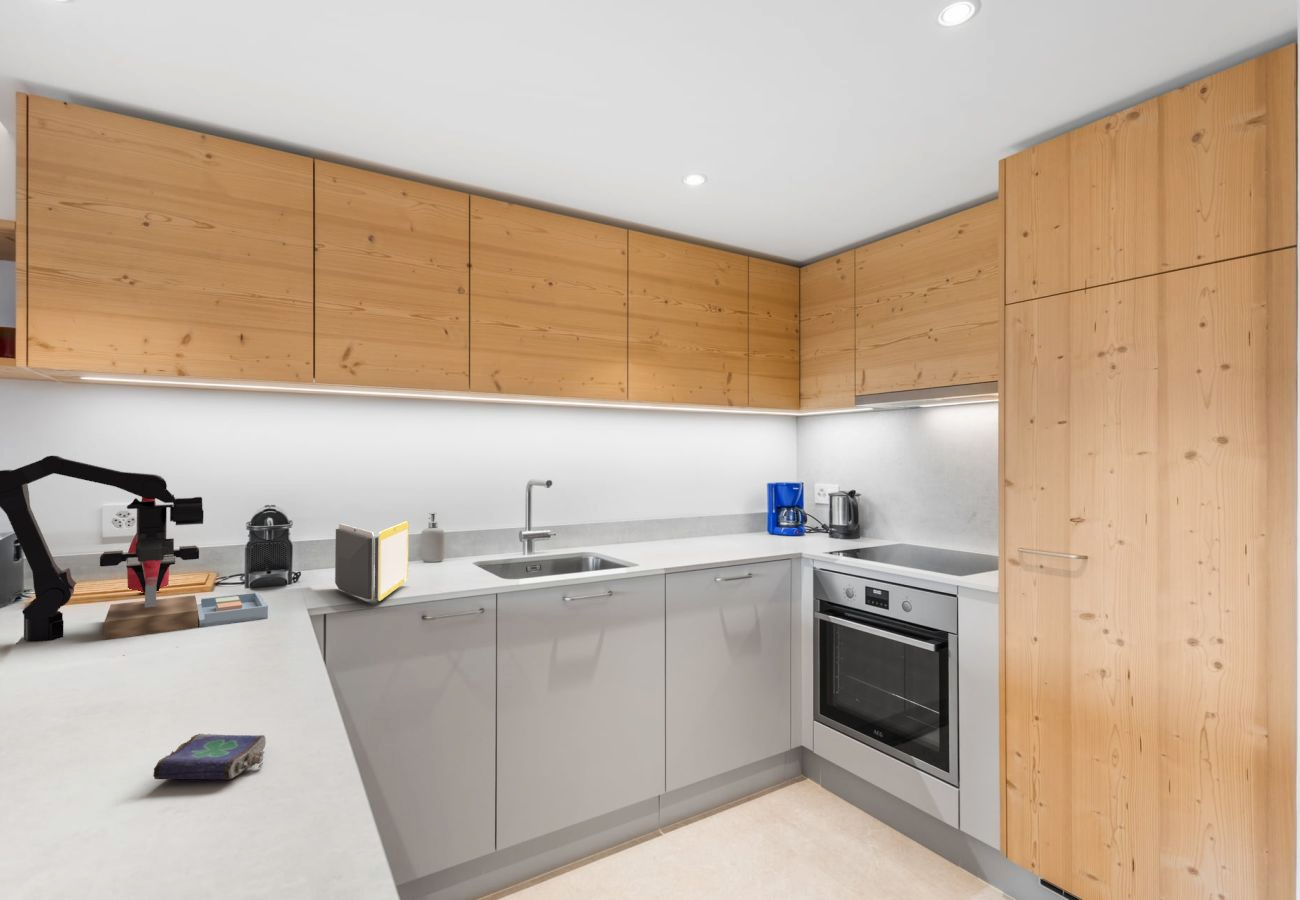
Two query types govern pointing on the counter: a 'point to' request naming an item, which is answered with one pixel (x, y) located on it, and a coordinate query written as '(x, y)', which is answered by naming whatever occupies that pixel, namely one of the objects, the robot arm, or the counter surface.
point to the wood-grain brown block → (150, 617)
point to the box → (250, 610)
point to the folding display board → (371, 560)
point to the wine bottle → (149, 567)
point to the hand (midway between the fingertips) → (151, 591)
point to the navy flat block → (212, 757)
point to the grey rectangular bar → (150, 592)
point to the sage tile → (226, 600)
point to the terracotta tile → (229, 606)
